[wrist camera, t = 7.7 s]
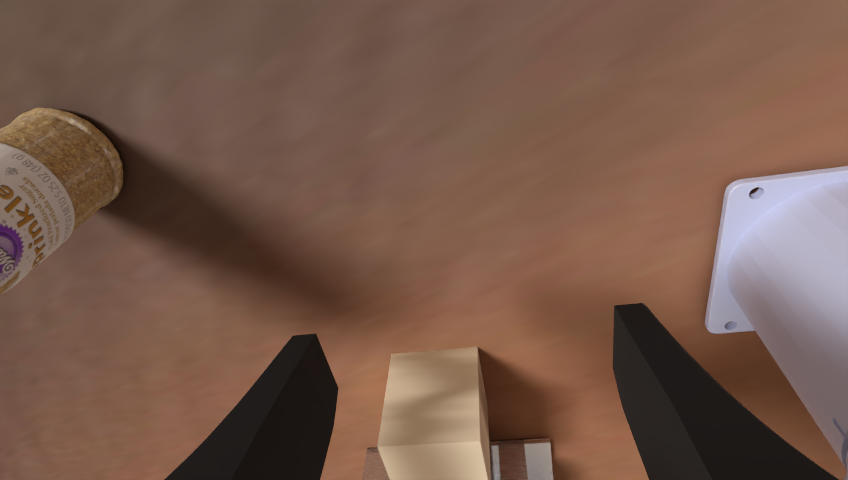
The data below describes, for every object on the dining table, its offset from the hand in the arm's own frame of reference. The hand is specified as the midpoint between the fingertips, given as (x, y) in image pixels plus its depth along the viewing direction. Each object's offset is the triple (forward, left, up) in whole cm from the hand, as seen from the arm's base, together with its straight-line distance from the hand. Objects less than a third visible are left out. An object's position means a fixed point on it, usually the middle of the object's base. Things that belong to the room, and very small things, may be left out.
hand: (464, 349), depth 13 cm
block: (+3, +12, -10) cm, 16 cm away
